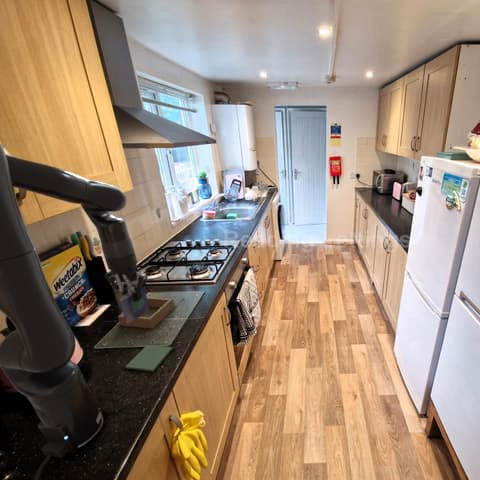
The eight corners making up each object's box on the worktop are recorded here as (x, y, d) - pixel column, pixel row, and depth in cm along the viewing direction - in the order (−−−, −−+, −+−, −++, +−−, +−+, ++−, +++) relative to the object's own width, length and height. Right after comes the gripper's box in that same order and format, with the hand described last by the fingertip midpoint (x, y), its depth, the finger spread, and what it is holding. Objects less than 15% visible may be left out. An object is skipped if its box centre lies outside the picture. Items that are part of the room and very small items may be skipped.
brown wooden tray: (152, 328, 106) (150, 319, 104) (120, 325, 107) (117, 316, 106) (175, 307, 119) (173, 298, 117) (146, 304, 120) (143, 296, 119)
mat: (153, 371, 86) (152, 369, 86) (125, 368, 88) (125, 366, 87) (172, 348, 96) (172, 347, 95) (147, 346, 97) (147, 344, 96)
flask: (131, 324, 85) (121, 295, 81) (122, 323, 85) (113, 295, 81) (151, 307, 93) (144, 280, 89) (144, 306, 93) (136, 280, 90)
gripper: (87, 256, 78) (104, 305, 84) (130, 258, 76) (144, 308, 83) (109, 246, 85) (123, 292, 91) (149, 248, 83) (160, 295, 90)
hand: (133, 299), depth 87 cm, fingers closed on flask, 3 cm apart
